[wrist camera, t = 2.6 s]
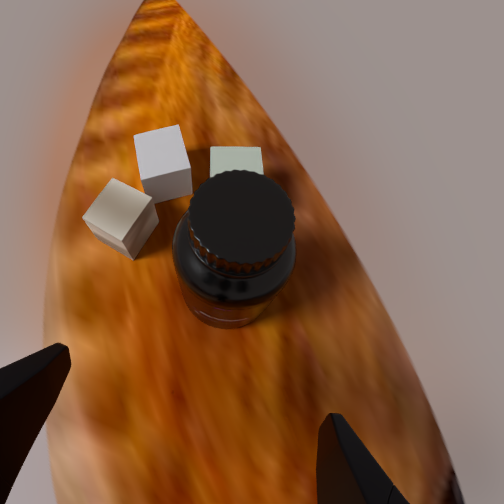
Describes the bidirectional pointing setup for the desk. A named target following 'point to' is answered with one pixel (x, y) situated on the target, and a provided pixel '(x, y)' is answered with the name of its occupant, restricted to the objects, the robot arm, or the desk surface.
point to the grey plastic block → (163, 164)
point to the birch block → (122, 218)
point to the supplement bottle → (234, 248)
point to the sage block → (235, 159)
